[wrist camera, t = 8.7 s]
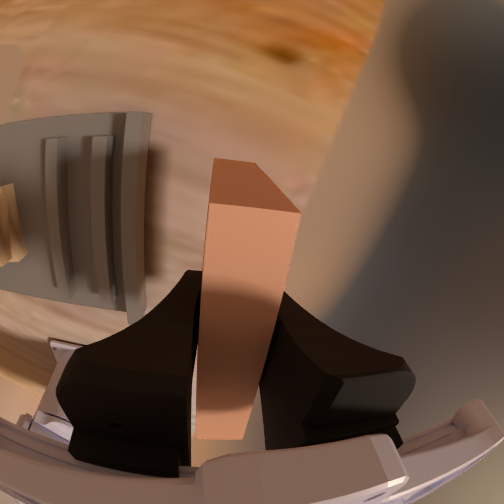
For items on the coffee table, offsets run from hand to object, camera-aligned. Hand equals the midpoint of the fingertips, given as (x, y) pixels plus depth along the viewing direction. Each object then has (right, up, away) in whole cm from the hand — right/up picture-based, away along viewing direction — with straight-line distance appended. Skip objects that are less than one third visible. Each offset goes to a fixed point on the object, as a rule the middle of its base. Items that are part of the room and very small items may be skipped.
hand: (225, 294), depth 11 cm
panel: (-1, +2, +4) cm, 4 cm away
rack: (-15, +5, +6) cm, 17 cm away
